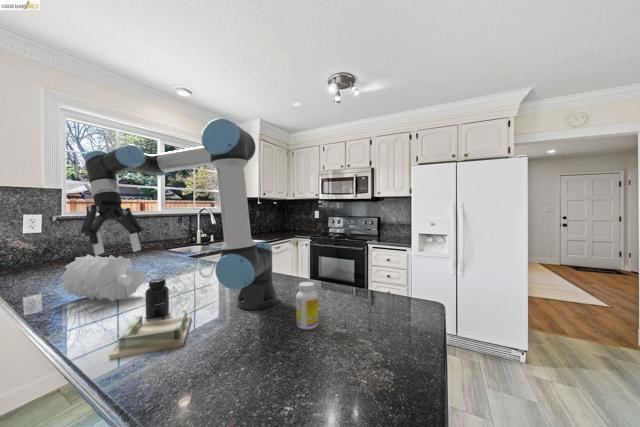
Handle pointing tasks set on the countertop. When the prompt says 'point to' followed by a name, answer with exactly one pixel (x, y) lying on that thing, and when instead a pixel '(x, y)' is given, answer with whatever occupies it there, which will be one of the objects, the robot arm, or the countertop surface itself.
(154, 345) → the beige tray
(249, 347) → the countertop surface
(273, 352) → the countertop surface
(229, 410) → the countertop surface
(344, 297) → the countertop surface
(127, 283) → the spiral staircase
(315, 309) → the supplement bottle
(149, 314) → the supplement bottle
